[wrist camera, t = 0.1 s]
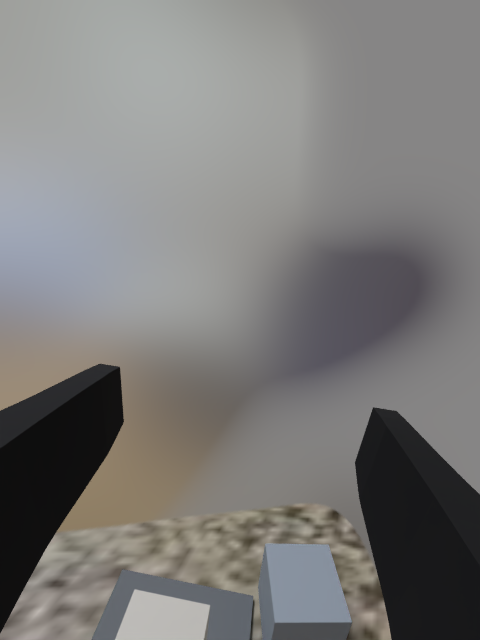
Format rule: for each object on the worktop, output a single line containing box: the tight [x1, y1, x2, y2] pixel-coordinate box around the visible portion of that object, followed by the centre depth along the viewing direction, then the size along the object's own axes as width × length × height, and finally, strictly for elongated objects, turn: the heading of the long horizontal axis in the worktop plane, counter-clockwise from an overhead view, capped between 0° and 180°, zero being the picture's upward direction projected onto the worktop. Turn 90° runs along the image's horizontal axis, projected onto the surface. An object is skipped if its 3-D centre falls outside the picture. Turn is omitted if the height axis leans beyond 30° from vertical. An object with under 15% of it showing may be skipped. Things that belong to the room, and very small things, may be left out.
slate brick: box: [258, 544, 352, 640], centre depth 22 cm, size 5×5×5 cm
